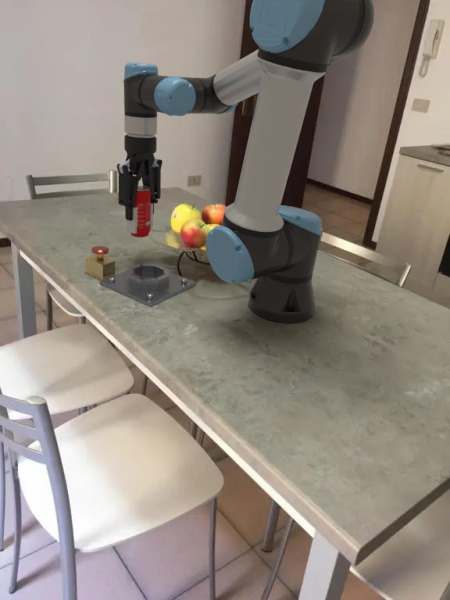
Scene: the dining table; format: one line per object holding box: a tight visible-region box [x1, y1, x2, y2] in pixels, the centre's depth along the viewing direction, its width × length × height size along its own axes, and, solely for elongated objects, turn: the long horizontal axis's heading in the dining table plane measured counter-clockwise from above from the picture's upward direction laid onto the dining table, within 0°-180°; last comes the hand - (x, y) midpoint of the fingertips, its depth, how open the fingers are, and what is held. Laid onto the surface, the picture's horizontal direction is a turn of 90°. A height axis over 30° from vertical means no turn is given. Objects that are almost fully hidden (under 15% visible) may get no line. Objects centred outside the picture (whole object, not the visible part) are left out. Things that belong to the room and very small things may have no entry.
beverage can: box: [129, 185, 151, 238], centre depth 130 cm, size 5×5×12 cm
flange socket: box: [99, 262, 196, 308], centre depth 123 cm, size 16×16×3 cm
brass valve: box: [84, 245, 116, 280], centre depth 125 cm, size 6×4×7 cm, turn 55°
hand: (139, 229), depth 132 cm, fingers closed on beverage can, 5 cm apart
